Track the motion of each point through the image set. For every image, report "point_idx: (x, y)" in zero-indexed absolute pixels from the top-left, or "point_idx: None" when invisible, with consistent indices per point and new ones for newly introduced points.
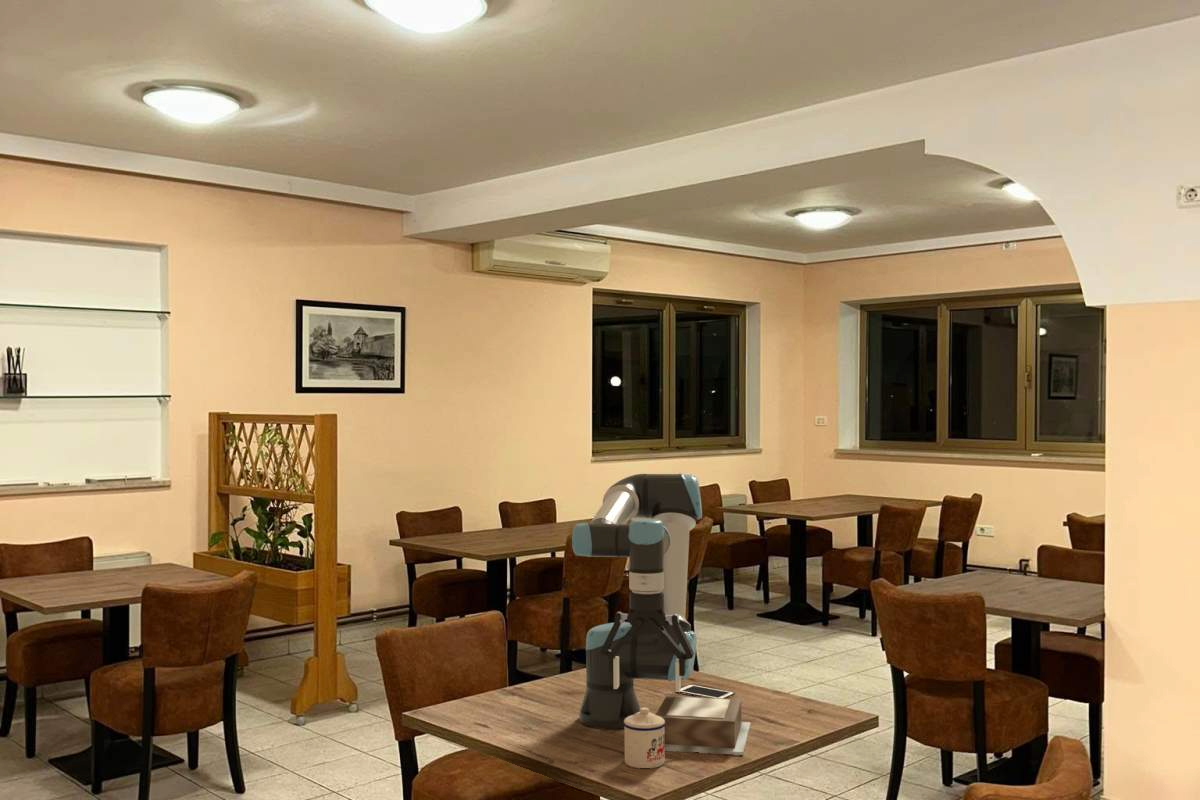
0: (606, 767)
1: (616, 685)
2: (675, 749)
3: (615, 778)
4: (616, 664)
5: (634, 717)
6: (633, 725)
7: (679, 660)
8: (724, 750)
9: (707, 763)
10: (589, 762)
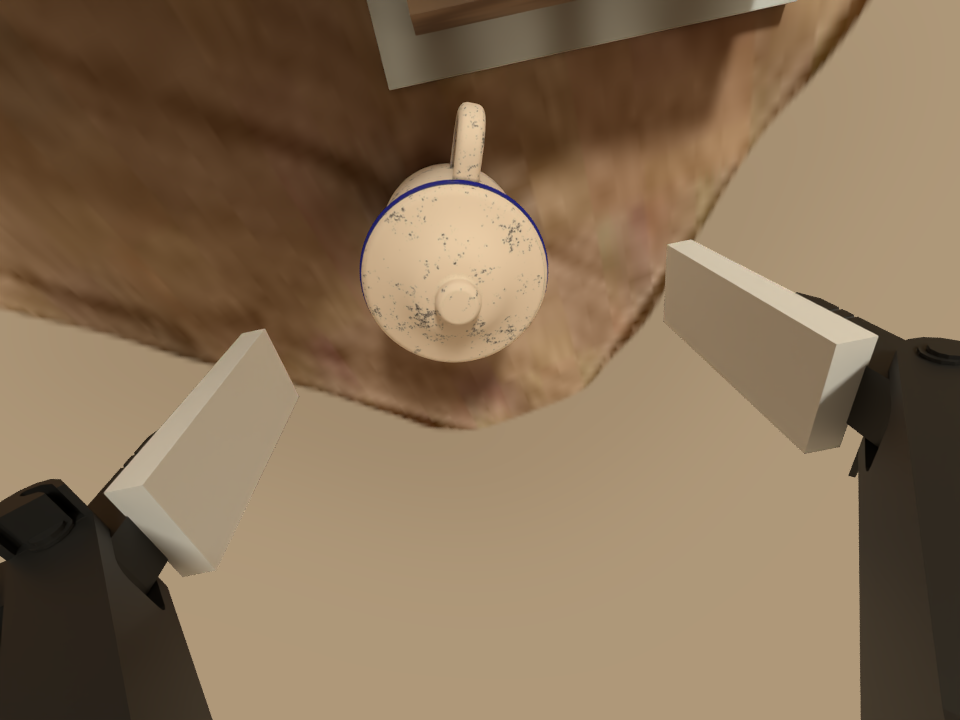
0: (362, 319)
1: (289, 409)
2: (516, 61)
3: (427, 379)
4: (235, 526)
5: (425, 331)
6: (441, 361)
7: (858, 452)
8: (720, 11)
9: (652, 157)
10: (291, 301)
